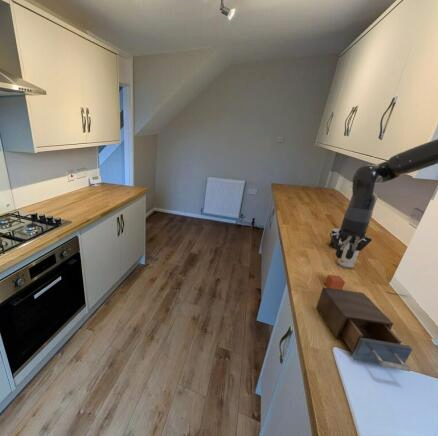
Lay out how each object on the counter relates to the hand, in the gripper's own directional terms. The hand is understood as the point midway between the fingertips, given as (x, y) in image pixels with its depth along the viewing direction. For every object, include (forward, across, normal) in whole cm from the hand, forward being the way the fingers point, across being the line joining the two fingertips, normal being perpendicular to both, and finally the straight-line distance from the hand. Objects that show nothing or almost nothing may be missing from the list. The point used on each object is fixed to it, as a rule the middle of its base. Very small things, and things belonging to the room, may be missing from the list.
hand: (343, 257), depth 96 cm
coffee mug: (+14, +20, +42) cm, 48 cm away
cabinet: (+14, -6, -23) cm, 28 cm away
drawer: (+13, -6, -34) cm, 37 cm away
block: (+14, 0, 0) cm, 14 cm away
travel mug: (+14, +14, +21) cm, 29 cm away
